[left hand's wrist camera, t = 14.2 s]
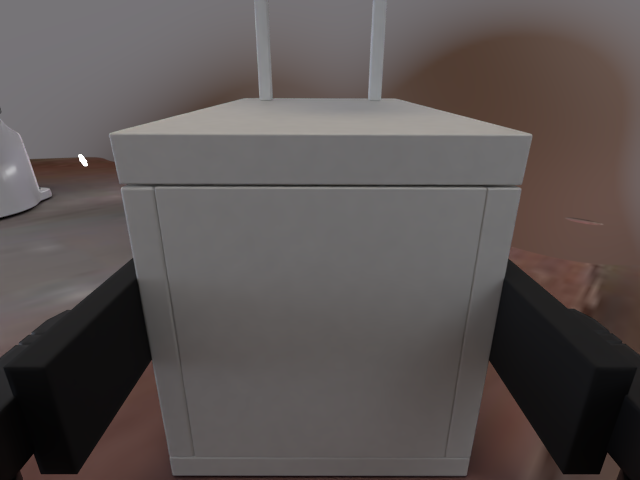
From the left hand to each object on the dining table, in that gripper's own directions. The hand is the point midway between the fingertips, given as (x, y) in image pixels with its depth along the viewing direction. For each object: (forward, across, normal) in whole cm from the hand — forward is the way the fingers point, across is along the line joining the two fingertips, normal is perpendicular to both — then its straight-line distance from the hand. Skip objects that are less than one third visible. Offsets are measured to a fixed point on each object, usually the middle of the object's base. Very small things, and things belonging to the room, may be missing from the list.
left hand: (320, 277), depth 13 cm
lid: (+6, 0, +4) cm, 7 cm away
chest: (+6, 0, -6) cm, 8 cm away
